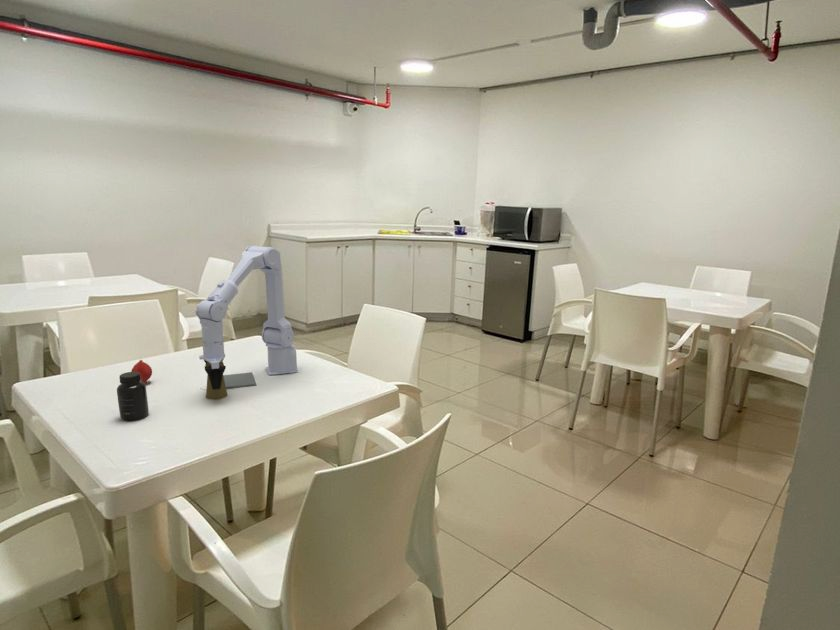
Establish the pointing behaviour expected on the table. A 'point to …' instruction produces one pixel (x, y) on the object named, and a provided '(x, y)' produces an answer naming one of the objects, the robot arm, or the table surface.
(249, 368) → the table surface
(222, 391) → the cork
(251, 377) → the placemat
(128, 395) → the supplement bottle
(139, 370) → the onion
